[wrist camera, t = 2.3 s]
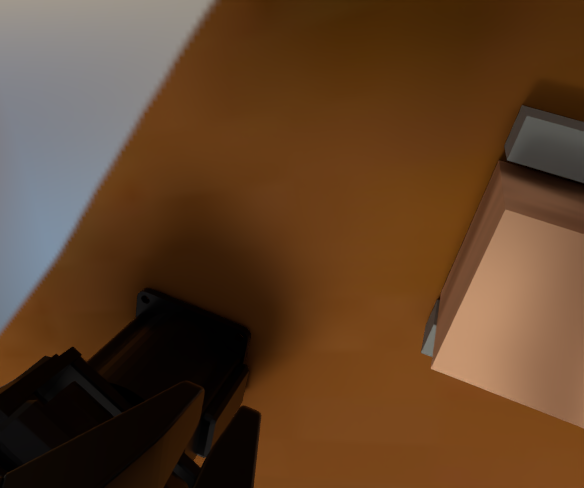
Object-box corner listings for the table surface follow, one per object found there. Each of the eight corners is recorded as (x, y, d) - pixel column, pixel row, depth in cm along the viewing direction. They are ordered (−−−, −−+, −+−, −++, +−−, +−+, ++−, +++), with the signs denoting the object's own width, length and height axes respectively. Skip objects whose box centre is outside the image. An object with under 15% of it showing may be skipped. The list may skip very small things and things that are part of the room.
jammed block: (441, 292, 21) (430, 368, 16) (499, 160, 18) (505, 209, 14) (588, 344, 20) (619, 442, 15) (674, 212, 17) (745, 285, 12)
